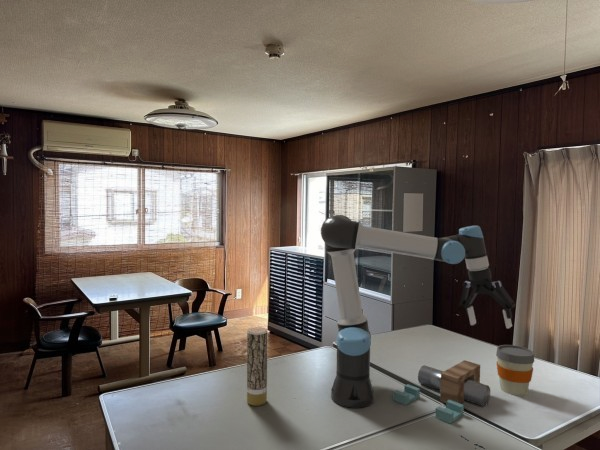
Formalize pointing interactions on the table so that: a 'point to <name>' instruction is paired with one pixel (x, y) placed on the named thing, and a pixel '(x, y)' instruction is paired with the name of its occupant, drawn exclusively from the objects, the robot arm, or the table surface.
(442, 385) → the brown wooden arched block
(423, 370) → the steel axle
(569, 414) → the table surface
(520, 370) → the reusable coffee cup
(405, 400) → the v-blocks
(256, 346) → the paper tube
